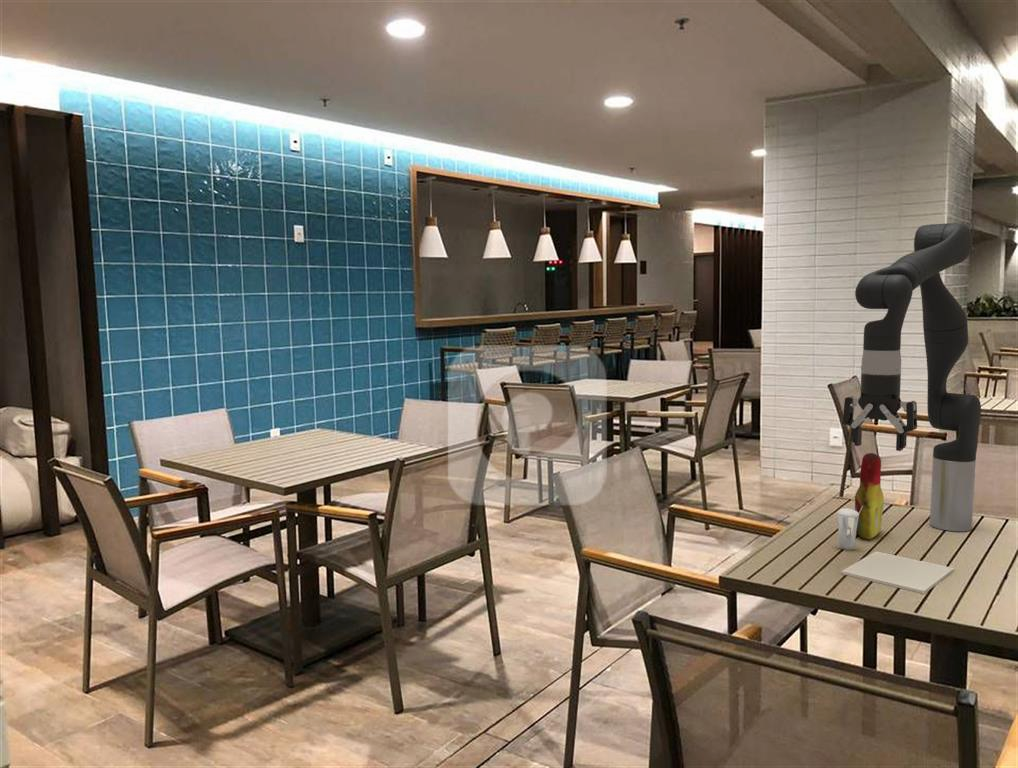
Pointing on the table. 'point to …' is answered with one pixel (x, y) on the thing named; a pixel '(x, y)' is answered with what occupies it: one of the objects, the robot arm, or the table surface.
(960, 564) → the table surface
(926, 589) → the mat
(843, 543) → the milkshake
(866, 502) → the bottle
